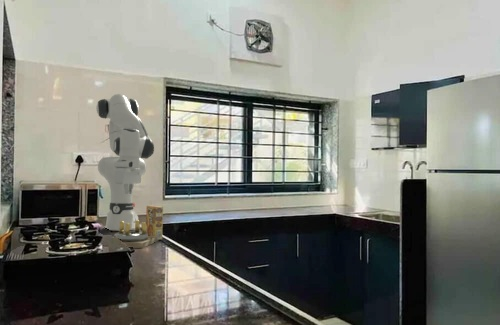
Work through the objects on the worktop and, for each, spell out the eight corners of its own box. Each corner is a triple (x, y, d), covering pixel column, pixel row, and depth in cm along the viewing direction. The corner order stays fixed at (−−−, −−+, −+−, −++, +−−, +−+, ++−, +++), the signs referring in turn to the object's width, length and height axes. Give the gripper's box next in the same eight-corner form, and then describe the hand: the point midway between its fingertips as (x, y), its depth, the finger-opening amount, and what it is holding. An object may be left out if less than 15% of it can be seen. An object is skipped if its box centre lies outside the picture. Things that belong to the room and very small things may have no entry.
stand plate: (122, 239, 179) (122, 234, 179) (158, 240, 177) (158, 235, 177) (103, 246, 161) (103, 240, 161) (142, 248, 159) (142, 242, 159)
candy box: (162, 239, 181) (163, 206, 181) (154, 240, 178) (155, 207, 178) (153, 237, 187) (154, 205, 187) (145, 237, 184) (146, 205, 185)
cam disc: (123, 235, 176) (123, 219, 176) (152, 236, 174) (153, 221, 174) (108, 240, 162) (108, 223, 162) (140, 241, 160) (140, 225, 160)
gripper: (132, 164, 187) (131, 192, 186) (112, 162, 167) (111, 194, 166) (145, 164, 186) (144, 193, 186) (126, 163, 166) (125, 195, 165)
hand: (128, 194), depth 176 cm, fingers closed
